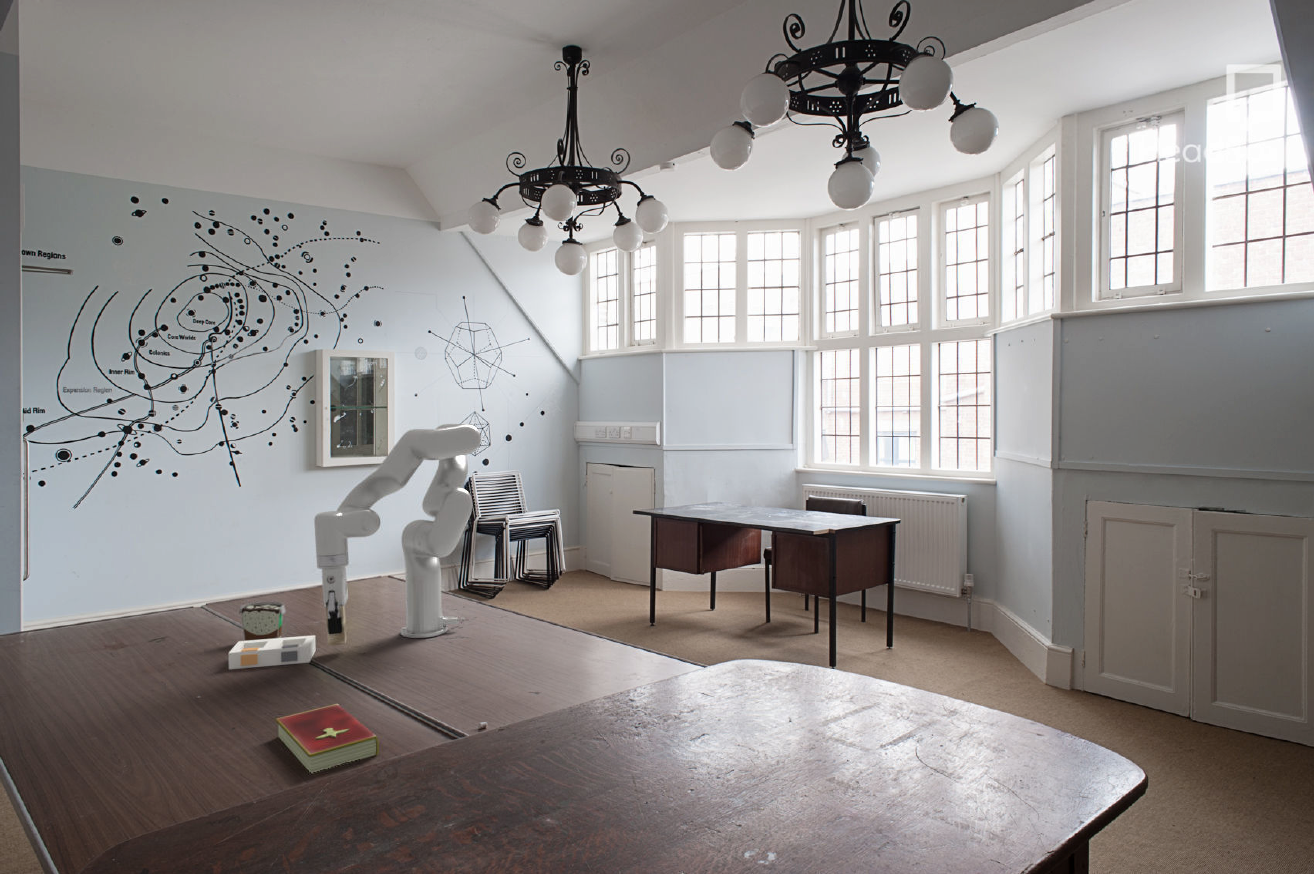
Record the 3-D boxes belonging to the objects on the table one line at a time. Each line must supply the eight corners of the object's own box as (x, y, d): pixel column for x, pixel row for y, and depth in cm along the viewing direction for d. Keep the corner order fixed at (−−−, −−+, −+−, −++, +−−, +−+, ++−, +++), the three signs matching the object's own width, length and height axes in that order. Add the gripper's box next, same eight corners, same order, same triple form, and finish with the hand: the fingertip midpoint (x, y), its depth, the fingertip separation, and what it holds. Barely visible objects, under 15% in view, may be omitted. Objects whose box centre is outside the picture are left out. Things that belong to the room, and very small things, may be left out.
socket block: (315, 650, 203) (315, 634, 203) (309, 662, 193) (308, 645, 193) (239, 656, 198) (238, 640, 198) (228, 669, 188) (228, 652, 188)
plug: (346, 639, 202) (344, 601, 202) (344, 644, 199) (342, 605, 198) (330, 641, 201) (327, 603, 201) (327, 645, 197) (325, 607, 197)
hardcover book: (340, 722, 157) (339, 701, 157) (379, 756, 141) (378, 733, 141) (275, 738, 149) (275, 717, 149) (309, 777, 133) (309, 753, 133)
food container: (295, 637, 215) (294, 601, 215) (282, 643, 209) (281, 606, 208) (253, 636, 216) (252, 600, 216) (239, 642, 210) (238, 606, 210)
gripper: (344, 565, 192) (348, 638, 193) (351, 552, 208) (355, 620, 209) (311, 568, 190) (315, 642, 191) (321, 555, 206) (325, 623, 207)
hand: (336, 629), depth 200 cm, fingers closed on plug, 4 cm apart
